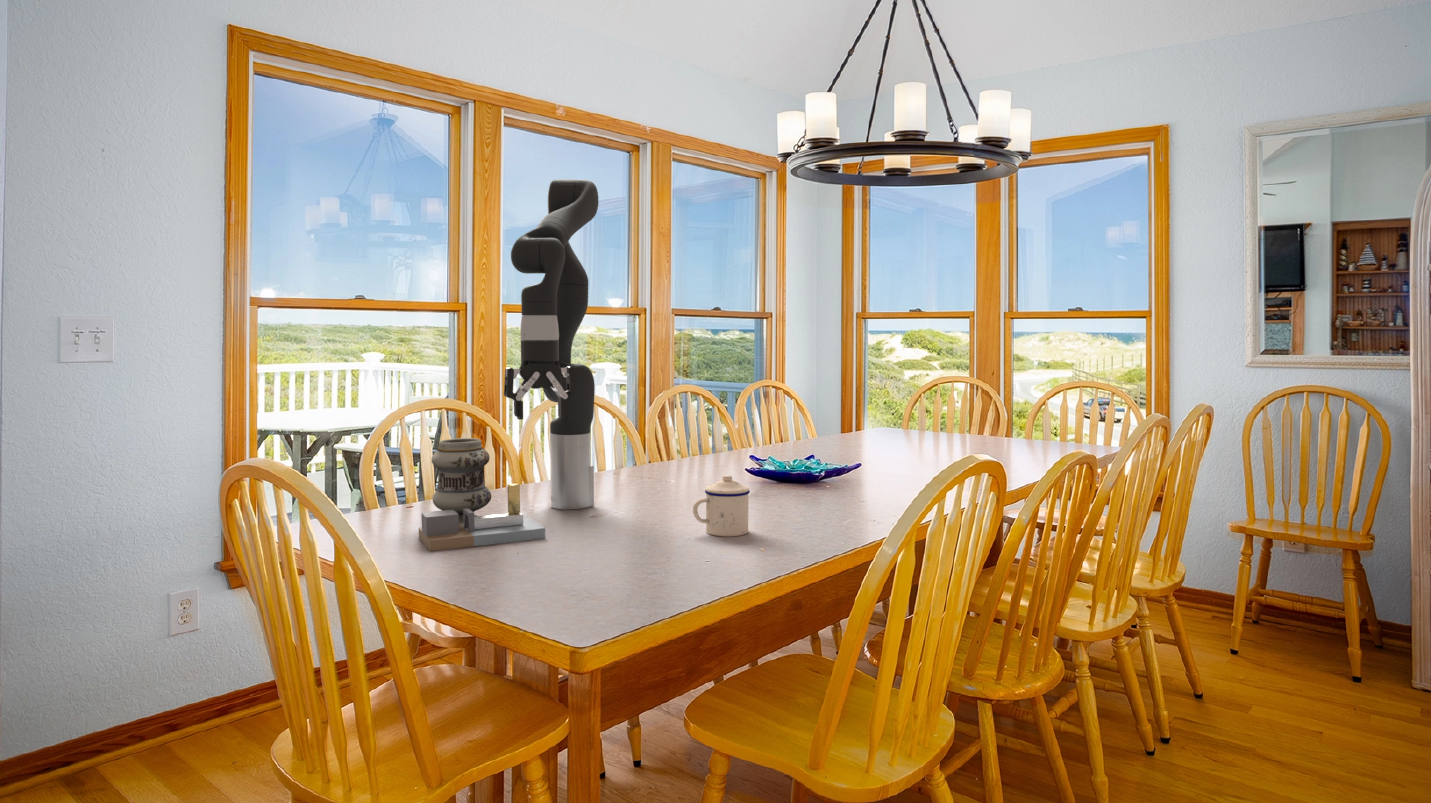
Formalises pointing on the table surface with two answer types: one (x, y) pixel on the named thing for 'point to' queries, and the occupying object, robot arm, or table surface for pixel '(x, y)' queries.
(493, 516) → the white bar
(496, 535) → the door and jamb lock plate
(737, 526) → the teacup with lid
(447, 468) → the apothecary jar
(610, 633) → the table surface
